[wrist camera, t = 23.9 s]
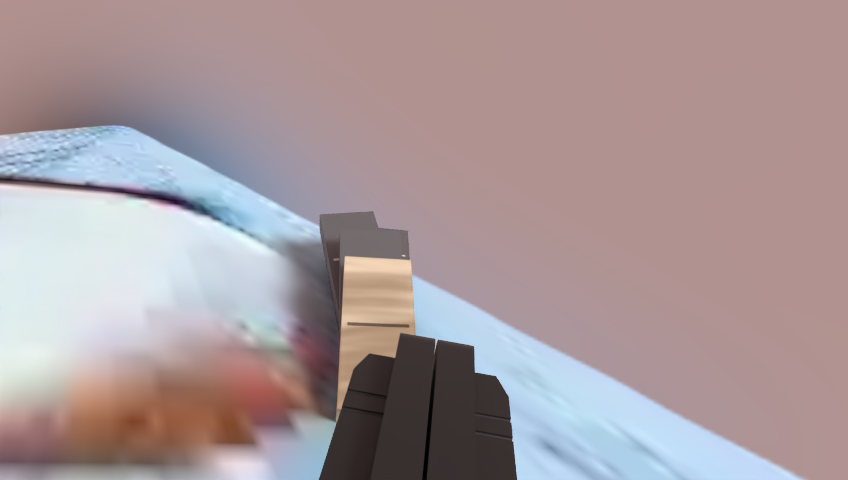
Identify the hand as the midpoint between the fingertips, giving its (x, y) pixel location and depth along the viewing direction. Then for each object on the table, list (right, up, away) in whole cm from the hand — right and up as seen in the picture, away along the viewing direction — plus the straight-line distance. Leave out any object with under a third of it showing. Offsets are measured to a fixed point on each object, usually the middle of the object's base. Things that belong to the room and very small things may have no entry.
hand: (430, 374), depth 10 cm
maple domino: (-3, -8, +21) cm, 23 cm away
